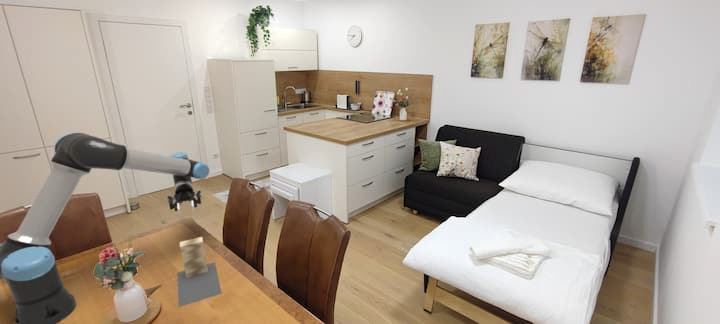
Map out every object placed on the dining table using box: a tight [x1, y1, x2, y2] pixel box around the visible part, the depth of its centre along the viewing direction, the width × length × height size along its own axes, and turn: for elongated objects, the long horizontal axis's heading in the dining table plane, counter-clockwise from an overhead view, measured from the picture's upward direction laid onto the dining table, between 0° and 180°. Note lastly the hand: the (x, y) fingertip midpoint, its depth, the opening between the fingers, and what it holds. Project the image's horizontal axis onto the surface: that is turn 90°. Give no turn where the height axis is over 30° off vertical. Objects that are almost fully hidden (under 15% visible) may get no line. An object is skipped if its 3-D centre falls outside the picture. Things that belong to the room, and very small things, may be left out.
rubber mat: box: [176, 261, 223, 308], centre depth 126 cm, size 14×22×1 cm, turn 29°
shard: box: [143, 284, 163, 299], centre depth 119 cm, size 11×8×2 cm
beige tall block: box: [179, 236, 208, 278], centre depth 130 cm, size 8×4×14 cm, turn 119°
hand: (186, 210), depth 133 cm, fingers open, 4 cm apart
